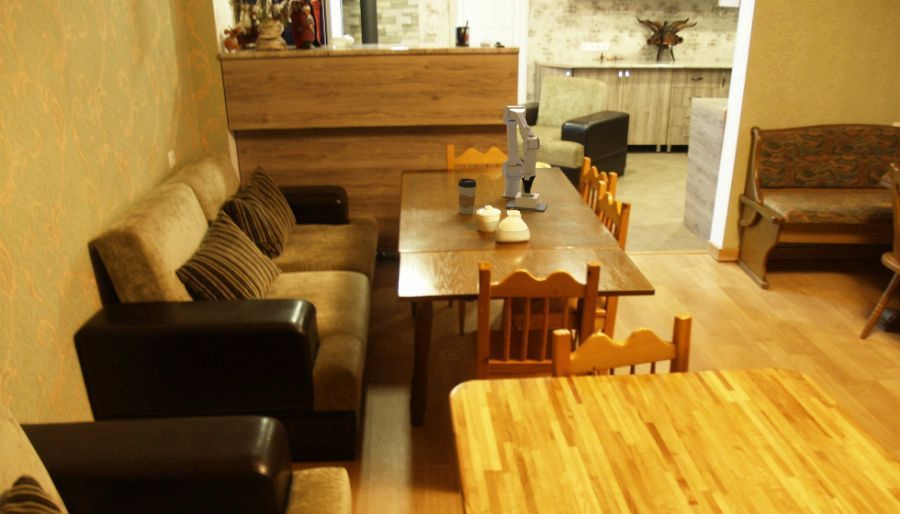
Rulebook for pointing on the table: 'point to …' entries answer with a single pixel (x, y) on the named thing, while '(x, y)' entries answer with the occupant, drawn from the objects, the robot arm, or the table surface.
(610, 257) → the table surface
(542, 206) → the well
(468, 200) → the coffee cup
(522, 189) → the peg
